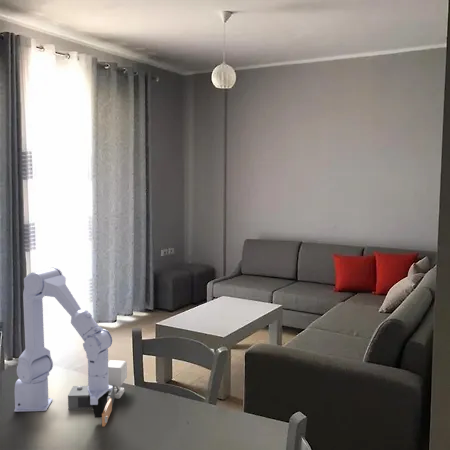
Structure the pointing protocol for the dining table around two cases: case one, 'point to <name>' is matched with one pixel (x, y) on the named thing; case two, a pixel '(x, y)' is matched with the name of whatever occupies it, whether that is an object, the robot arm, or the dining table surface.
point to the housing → (83, 398)
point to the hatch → (107, 411)
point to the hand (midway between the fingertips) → (98, 417)
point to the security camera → (117, 375)
